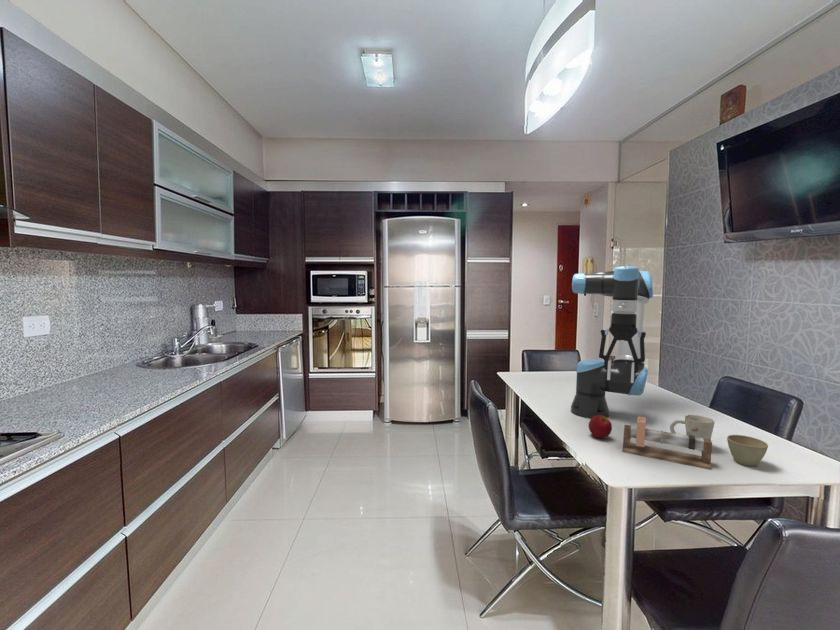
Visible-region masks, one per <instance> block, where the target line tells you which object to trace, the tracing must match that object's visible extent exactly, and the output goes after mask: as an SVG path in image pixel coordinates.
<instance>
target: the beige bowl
mask: <svg viewBox="0 0 840 630" xmlns="http://www.w3.org/2000/svg"><path fill="white" fill-rule="evenodd" d="M726 438H727V439H726V440H727V441H726V442H727V445H728V449H729V452H730V454H731V455H732V458H733V459H734V461H735V462H736V463H738V464H739V465H744V466H748V467H754V466H755V467H756V466H757V465H758V464H759V463H760V462H761V461H762V460H763V458H764V457H765V455H766V453H767V452H768V448H769V444H768V443H767V442H766V441H764V440H762V439H759V438H757V437H753V436H749V435H748V436H747V435H742V434H728V435H727V437H726Z"/></svg>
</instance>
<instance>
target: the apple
mask: <svg viewBox="0 0 840 630" xmlns="http://www.w3.org/2000/svg"><path fill="white" fill-rule="evenodd" d="M588 430H589V432H590V434H591V435H593V436H594V437H595V438H598V439H604V438H607V437H608V436H610V434H611V433H612V430H613V426H612V422H611V421H610V419H608V417H605V416H602V415H597V416H594V417H593V418H590V420H589V422H588Z"/></svg>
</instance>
